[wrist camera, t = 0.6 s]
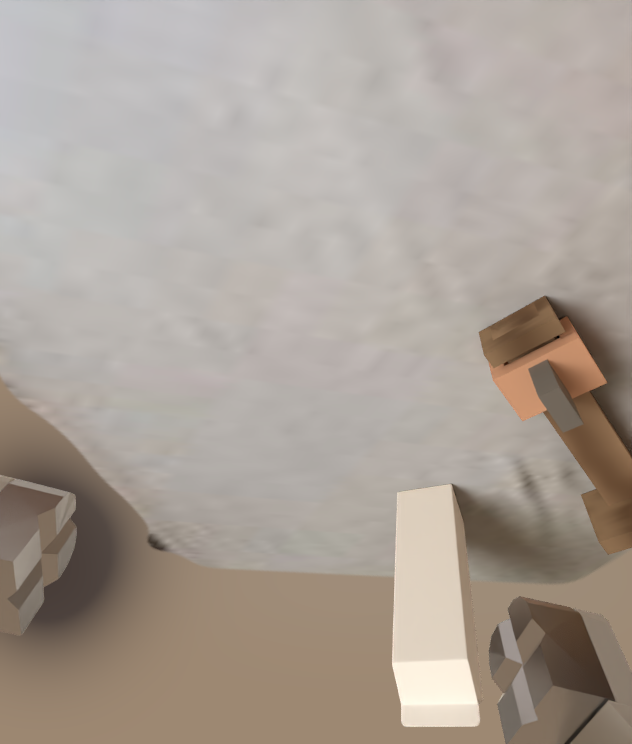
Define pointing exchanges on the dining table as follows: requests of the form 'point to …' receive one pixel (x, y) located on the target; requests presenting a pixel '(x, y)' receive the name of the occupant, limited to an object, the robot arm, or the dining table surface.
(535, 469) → the dining table surface
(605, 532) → the rail
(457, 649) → the milk
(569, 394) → the slider
